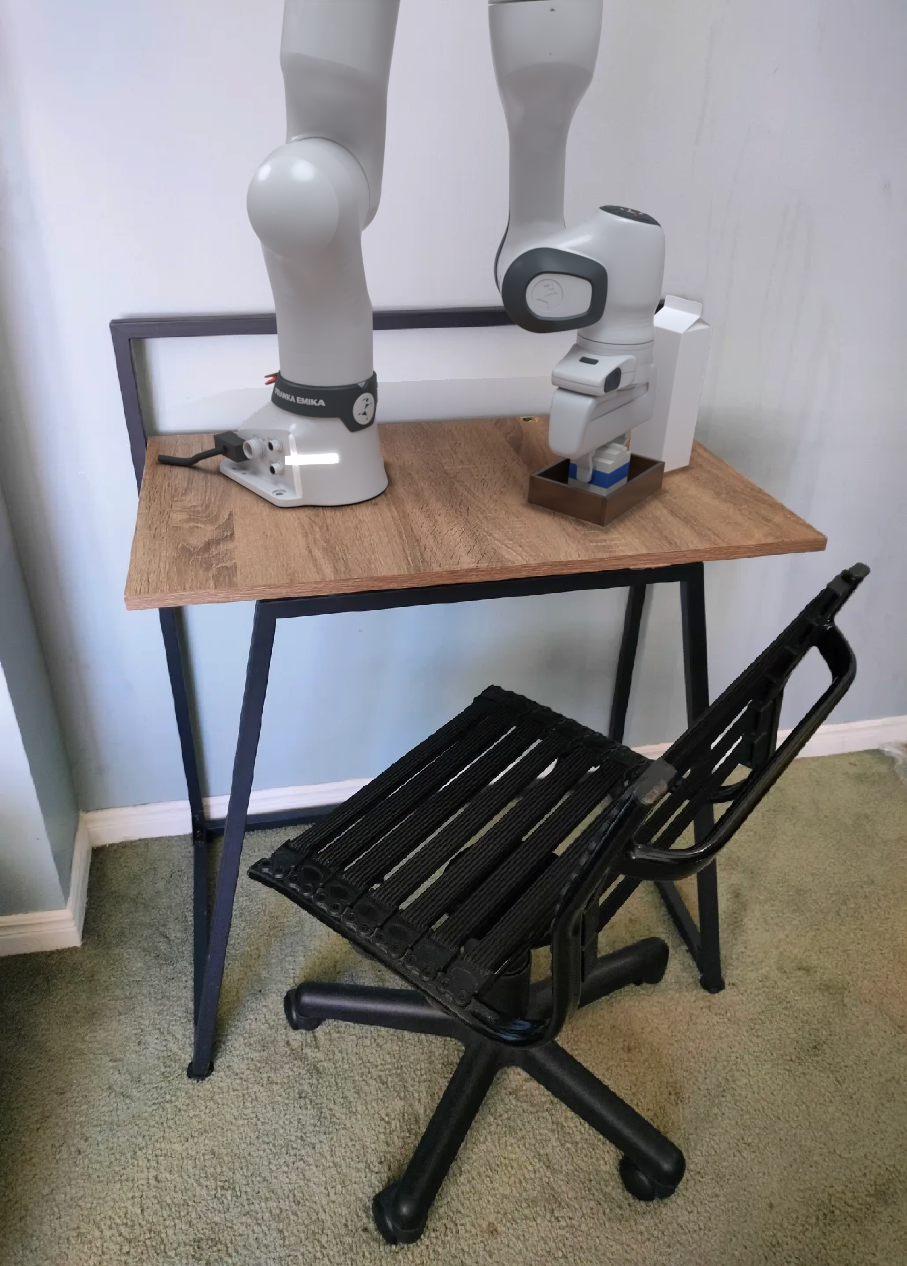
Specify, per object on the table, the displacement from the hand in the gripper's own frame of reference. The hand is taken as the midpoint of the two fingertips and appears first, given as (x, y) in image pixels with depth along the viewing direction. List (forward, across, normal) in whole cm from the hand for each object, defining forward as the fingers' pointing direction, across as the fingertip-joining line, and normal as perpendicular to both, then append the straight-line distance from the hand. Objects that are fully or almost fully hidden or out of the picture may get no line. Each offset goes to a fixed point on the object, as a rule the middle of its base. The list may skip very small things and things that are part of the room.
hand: (598, 471), depth 114 cm
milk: (+4, -16, +1) cm, 16 cm away
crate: (+4, 0, 0) cm, 4 cm away
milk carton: (+3, 0, 0) cm, 3 cm away
